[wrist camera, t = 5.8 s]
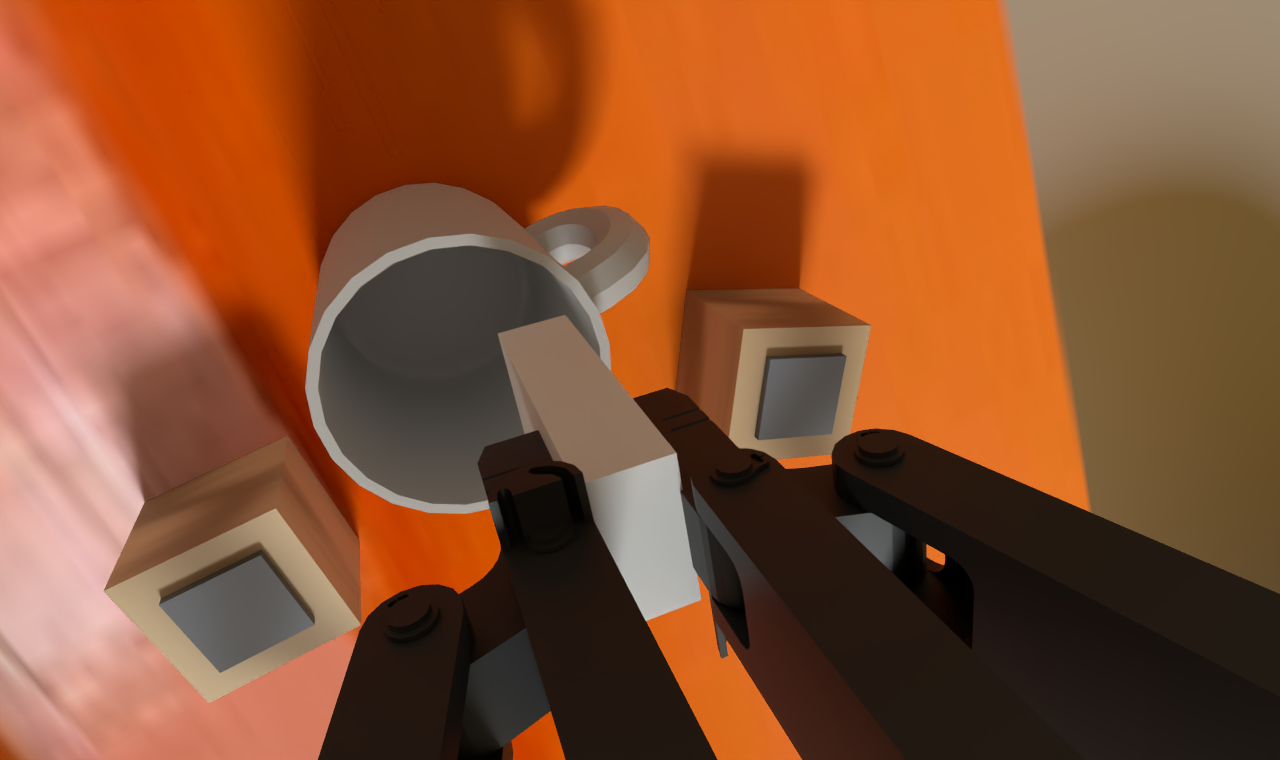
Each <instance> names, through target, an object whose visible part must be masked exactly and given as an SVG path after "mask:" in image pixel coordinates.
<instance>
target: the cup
mask: <svg viewBox="0 0 1280 760" xmlns="http://www.w3.org/2000/svg"><path fill="white" fill-rule="evenodd" d="M575 259H577V260H575ZM649 259H650V238H649V236H648V234H647V233H646V231H645V229H644V228H643V227H642V226H641V225H640V224H639V223H638V222H637V221H636V220H635V219H634V218H632V217H631V216H630V215H629V214H628V213H626V212H624V211H622V210H621V209H619V208H614V207H608V206H596V207H585V208H576V209H570V210H567V211H563V212H559V213H556V214H554V215H551V216H549V217H547V218H544V219H542V220H540V221H538V222H536V223H534V224H532V225H530V226H528V227H526V228H523V227H522V226H521V225H519V224H518V223H517V222H516V221H515V220H514V219H513V218H511V217H510V216H509V215H508V214H507V213H506V212H505V211H503V210H502V209H501V208H500V207H499V206H498V205H496V204H495V203H494V202H492V201H490V200H488V199H486V198H484V197H482V196H480V195H478V194H475V193H473V192H471V191H469V190H467V189H465V188H461V187H456V186H451V185H445V184H440V183H422V184H409V185H403V186H400V187H397V188H394V189H391V190H389V191H386V192H383V193H380V194H377V195H375V196H374V197H372V198H371V199H370V200H368V201H367V202H365V203H364V204H363V205H361V206H360V207H358V208H357V209H355V210H354V211H353V212H352V213H351V214H350V215H349V216H348V217H347V219H346V220H345V221H344V222H343V224H342V225H341V226H340V227H339V229H338V230H337V231H336V232H335V234H334V235H333V237H332V239H331V241H330V244H329V246H328V249H327V251H326V254H325V256H324V259H323V261H322V264H321V266H320V273H319V281H318V288H317V295H316V302H315V309H314V316H313V324H312V331H311V338H310V345H309V354H308V364H307V375H306V386H305V390H306V395H307V399H308V404H309V408H310V413H311V417H312V422H313V426H314V428H315V430H316V432H317V433H318V435H319V437H320V439H321V440H322V442H323V444H324V446H325V448H326V449H327V451H328V453H329V455H330V456H331V458H332V460H333V461H334V462H335V463H337V464H338V465H339V466H340V467H341V468H342V469H343V470H344V471H345V472H346V473H347V474H348V475H349V476H350V477H351V478H352V479H353V480H354V481H355V482H356V483H357V484H358V485H360V486H361V487H363V488H365V489H367V490H369V491H371V492H372V493H374V494H376V495H378V496H380V497H381V498H383V499H385V500H387V501H389V502H391V503H393V504H396V505H400V506H404V507H408V508H412V509H416V510H420V511H424V512H428V513H463V514H467V513H472V512H476V511H481V510H486V509H490V508H489V505H488V498H487V495H486V492H485V488H484V485H483V481H482V478H481V475H480V471H479V468H478V465H477V463H478V461H479V458H480V456H481V454H482V451H483V449H484V447H485V446H488V445H491V444H494V443H498V442H501V441H504V440H507V439H511V438H514V437H517V436H520V435H523V434H524V430H523V426H522V422H521V419H520V415H519V411H518V408H517V404H516V400H515V396H514V393H513V389H512V385H511V382H510V378H509V374H508V370H507V367H506V363H505V359H504V355H503V352H502V348H501V344H500V341H499V337H498V333H501V332H505V331H509V330H512V329H516V328H519V327H523V326H527V325H530V324H534V323H537V322H541V321H545V320H548V319H552V318H555V317H559V316H563V315H566V316H567V318H568V319H569V320H570V321H571V323H572V324H573V325H574V326H575V328H576V329H577V330H578V331H579V332H580V334H581V335H582V336H583V337H584V339H585V340H586V341H587V342H588V344H589V345H590V346H591V347H592V349H593V350H594V351H595V352H596V354H597V355H598V356H599V357H600V359H601V360H602V361H603V362H604V364H605V365H606V366H607V367H608V368H609V370H610V371H611V362H610V344H609V341H608V338H607V335H606V331H605V328H604V325H603V322H602V319H601V316H600V313H602V312H604V311H605V310H607V309H609V308H610V307H612V306H613V305H615V304H616V303H617V302H619V301H620V300H621V299H623V298H624V297H625V296H626V295H628V294H629V293H630V292H632V291H633V290H634V289H635V288H636V287H637V285H638V284H639V283H640V282H641V280H642V279H643V278H644V276H645V275H646V274H647V271H648V265H649ZM573 260H575V261H573ZM570 261H573V262H571V263H570V264H568V265H566V266H564V267H563V266H562V265H563V264H566V263H568V262H570Z"/></svg>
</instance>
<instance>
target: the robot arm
mask: <svg viewBox="0 0 1280 760" xmlns="http://www.w3.org/2000/svg"><path fill="white" fill-rule="evenodd" d="M498 337H499V341H500V344H501V348H502V352H503V355H504V359H505V363H506V367H507V370H508V374H509V378H510V382H511V385H512V389H513V393H514V396H515V400H516V404H517V408H518V411H519V415H520V419H521V422H522V426H523V430H524V434H523V435H520V436H517V437H514V438H511V439H507V440H504V441H501V442H498V443H494V444H491V445H488V446H485V447H484V449H483V451H482V454H481V456H480V458H479V461H478V463H477V465H478V468H479V471H480V475H481V478H482V481H483V485H484V488H485V492H486V495H487V498H488V505H489V508H490V511H491V514H492V518H493V521H494V524H495V527H496V531H497V534H498V537H499V540H500V544H501V551H500V555H499V558H498V560H497V562H496V563H495V565H494V567H493V568H492V569H491V570H490V571H489V572H488V573H487V574H486V576H485V577H484V578H483V579H481V580H480V581H478V582H477V583H476V584H474V585H473V586H471V587H470V588H468V589H467V590H465V591H463V592H462V593H460V594H458V593H457V592H456V591H455V590H454V589H453V588H449V587H446V586H442V585H439V584H437V585H421V586H417V587H414V588H411V589H408V590H405V591H402V592H399V593H398V594H396V595H394V596H393V597H391V598H389V599H387V600H386V601H384V602H382V603H381V604H380V605H379V606H378V607H377V608H376V609H375V610H374V611H373V612H372V613H371V614H370V615H369V616H368V617H367V619H366V621H365V622H364V624H363V626H362V628H361V629H360V631H359V634H358V638H357V641H356V644H355V647H354V650H353V653H352V656H351V659H350V662H349V665H348V668H347V671H346V675H345V678H344V681H343V684H342V687H341V690H340V693H339V696H338V699H337V702H336V705H335V708H334V712H333V715H332V718H331V721H330V724H329V727H328V730H327V733H326V736H325V739H324V742H323V745H322V749H321V752H320V755H319V758H318V760H513V748H512V742H511V740H512V739H513V738H515V737H516V736H517V735H519V734H520V733H522V732H523V731H524V730H526V729H527V728H528V727H530V726H531V725H532V724H534V723H535V722H536V721H538V720H539V719H540V718H542V717H543V716H544V715H546V714H547V713H548V712H550V711H551V712H552V716H553V719H554V722H555V726H556V729H557V732H558V736H559V739H560V742H561V746H562V749H563V752H564V756H565V759H566V760H717V758H716V756H715V754H714V752H713V750H712V748H711V746H710V744H709V742H708V740H707V739H706V737H705V735H704V733H703V731H702V729H701V727H700V725H699V723H698V721H697V719H696V717H695V715H694V713H693V711H692V710H691V708H690V706H689V704H688V702H687V700H686V698H685V696H684V694H683V692H682V690H681V688H680V686H679V684H678V682H677V681H676V679H675V677H674V675H673V673H672V671H671V669H670V667H669V665H668V663H667V661H666V659H665V657H664V655H663V653H662V651H661V650H660V648H659V646H658V644H657V642H656V640H655V638H654V636H653V634H652V632H651V630H650V628H649V626H648V624H647V622H646V621H647V620H650V619H652V618H655V617H657V616H660V615H663V614H665V613H668V612H671V611H673V610H676V609H678V608H681V607H684V606H686V605H689V604H692V603H694V602H697V601H699V600H701V595H700V589H699V583H698V577H697V574H698V575H699V577H700V578H701V580H702V582H703V583H704V585H705V586H706V588H707V589H708V591H709V596H710V602H711V608H712V614H713V620H714V626H715V633H716V639H717V645H718V649H719V652H720V656H721V658H724V657H726V656H728V653H727V646H726V641H728V642H729V644H730V645H731V647H732V649H733V650H734V652H735V653H736V655H737V656H738V658H739V660H740V661H741V663H742V664H743V666H744V668H745V669H746V671H747V672H748V674H749V676H750V677H751V679H752V680H753V682H754V683H755V685H756V687H757V688H758V690H759V691H760V693H761V695H762V696H763V698H764V699H765V701H766V703H767V704H768V706H769V707H770V709H771V710H772V712H773V714H774V715H775V717H776V718H777V720H778V722H779V723H780V725H781V726H782V728H783V730H784V731H785V733H786V734H787V736H788V737H789V739H790V741H791V742H792V744H793V745H794V747H795V749H796V750H797V752H798V753H799V755H800V757H801V758H802V760H1280V594H1278V593H1276V592H1274V591H1271V590H1269V589H1267V588H1264V587H1262V586H1260V585H1258V584H1255V583H1253V582H1251V581H1248V580H1246V579H1243V578H1241V577H1239V576H1236V575H1234V574H1232V573H1230V572H1227V571H1225V570H1223V569H1220V568H1218V567H1216V566H1213V565H1211V564H1209V563H1206V562H1204V561H1202V560H1199V559H1197V558H1195V557H1192V556H1190V555H1188V554H1186V553H1183V552H1181V551H1179V550H1176V549H1174V548H1172V547H1169V546H1167V545H1164V544H1162V543H1160V542H1158V541H1155V540H1153V539H1151V538H1148V537H1146V536H1144V535H1141V534H1139V533H1137V532H1134V531H1132V530H1130V529H1127V528H1125V527H1122V526H1120V525H1118V524H1116V523H1114V522H1111V521H1109V520H1106V519H1104V518H1102V517H1100V516H1097V515H1094V514H1093V513H1090V512H1088V511H1086V510H1083V509H1081V508H1079V507H1076V506H1074V505H1072V504H1069V503H1067V502H1065V501H1062V500H1060V499H1058V498H1055V497H1053V496H1051V495H1048V494H1046V493H1044V492H1042V491H1039V490H1037V489H1035V488H1032V487H1030V486H1028V485H1025V484H1023V483H1021V482H1018V481H1016V480H1014V479H1011V478H1009V477H1007V476H1004V475H1002V474H1000V473H997V472H995V471H993V470H990V469H988V468H986V467H983V466H981V465H979V464H976V463H974V462H972V461H970V460H967V459H965V458H963V457H960V456H958V455H956V454H953V453H951V452H949V451H946V450H944V449H942V448H939V447H937V446H935V445H932V444H930V443H928V442H925V441H923V440H921V439H918V438H916V437H914V436H911V435H909V434H906V433H902V432H899V431H895V430H886V429H869V430H862V431H857V432H855V433H852V434H849V435H847V436H844V437H843V438H842V439H841V440H839V441H838V442H837V443H836V444H835V445H834V448H833V451H832V464H831V465H823V466H816V467H808V468H797V469H785V468H784V467H783V466H782V465H781V464H780V463H779V462H778V461H777V460H776V459H775V458H773V457H771V456H770V455H768V454H766V453H765V452H763V451H758V450H754V449H750V448H738V447H737V446H736V445H735V444H734V443H733V442H732V441H731V439H730V438H729V437H728V436H727V435H726V434H725V433H724V432H723V431H722V430H721V429H720V428H719V427H718V426H717V425H716V424H715V423H714V422H713V421H712V420H710V419H709V417H708V416H707V415H706V414H705V413H704V412H703V411H702V410H700V408H699V407H698V406H697V405H696V404H695V403H694V401H693V400H692V399H691V398H690V397H689V396H688V395H685V394H682V393H680V392H677V391H674V390H671V389H669V388H665V389H662V390H659V391H655V392H652V393H649V394H646V395H642V396H639V397H636V398H632V397H631V396H630V395H629V393H628V392H627V391H626V390H625V388H624V387H623V386H622V385H621V383H620V382H619V381H618V380H617V378H616V377H615V376H614V375H613V373H612V372H611V371H610V370H609V368H608V367H607V366H606V365H605V364H604V362H603V361H602V360H601V359H600V357H599V356H598V355H597V354H596V352H595V351H594V350H593V349H592V347H591V346H590V345H589V344H588V342H587V341H586V340H585V339H584V337H583V336H582V335H581V334H580V332H579V331H578V330H577V329H576V328H575V326H574V325H573V324H572V323H571V321H570V320H569V319H568V318H567V316H566V315H563V316H559V317H555V318H552V319H548V320H545V321H541V322H537V323H534V324H530V325H527V326H523V327H519V328H516V329H512V330H509V331H505V332H501V333H498ZM926 544H928V545H929V546H931V547H933V548H935V549H937V550H938V551H940V552H942V553H944V554H945V565H941V564H938V563H936V562H934V561H932V560H930V559H929V558H927V557H926Z"/></svg>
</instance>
